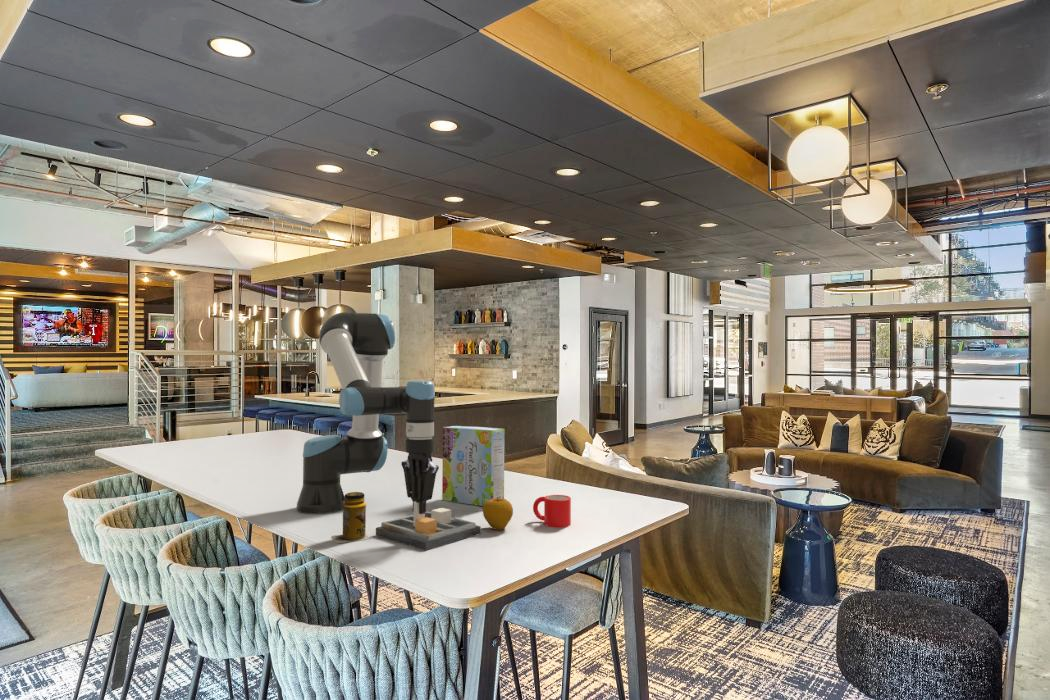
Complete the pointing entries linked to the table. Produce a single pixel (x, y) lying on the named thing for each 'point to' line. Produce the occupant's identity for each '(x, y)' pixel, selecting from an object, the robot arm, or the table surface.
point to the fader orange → (426, 525)
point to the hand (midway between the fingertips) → (419, 525)
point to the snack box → (472, 464)
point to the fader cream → (441, 515)
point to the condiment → (353, 518)
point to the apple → (497, 513)
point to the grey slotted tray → (446, 534)
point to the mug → (554, 510)
